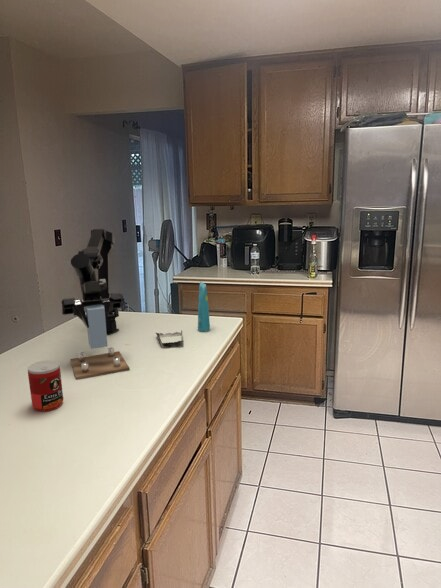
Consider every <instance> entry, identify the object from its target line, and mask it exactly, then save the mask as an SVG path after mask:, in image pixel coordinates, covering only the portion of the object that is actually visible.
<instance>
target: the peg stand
mask: <svg viewBox="0 0 441 588" xmlns="http://www.w3.org/2000/svg"><path fill="white" fill-rule="evenodd" d="M70 364H71V367H72V371H73V374H74V377H75V380H81V379H82V380H83V379H88V378H93V377H94V378H95V377H98V376H99V377H100V376H105V375H110V374H116V373H122V372H127V371H130V366H129V364H128V363H127V361H126V360H125V358H124V357H123V355H122V354H121V352H120V351H119V350H117V351H115V348H114V347H109V348H107V352H106V353H100V354H99V353H98V354H94V355H93V354H92V355H88V356H87V355H86V356H85V352H80V351H79V352H78V353H77V357H74V358H70Z"/></svg>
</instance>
